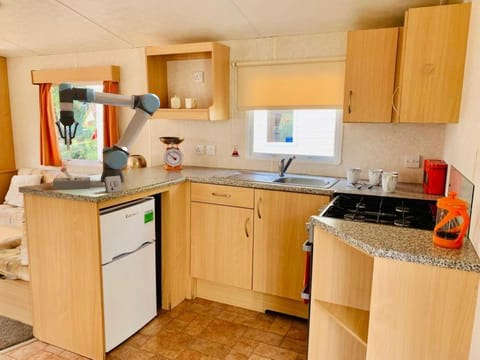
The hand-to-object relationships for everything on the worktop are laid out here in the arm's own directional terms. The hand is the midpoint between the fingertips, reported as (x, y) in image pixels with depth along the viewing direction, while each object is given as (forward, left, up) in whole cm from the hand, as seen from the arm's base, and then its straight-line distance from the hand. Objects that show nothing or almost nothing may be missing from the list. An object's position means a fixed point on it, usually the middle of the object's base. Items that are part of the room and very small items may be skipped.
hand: (68, 150), depth 218 cm
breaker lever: (-2, +1, -18) cm, 19 cm away
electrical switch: (-23, +21, -23) cm, 39 cm away
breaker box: (-1, +1, -22) cm, 22 cm away
